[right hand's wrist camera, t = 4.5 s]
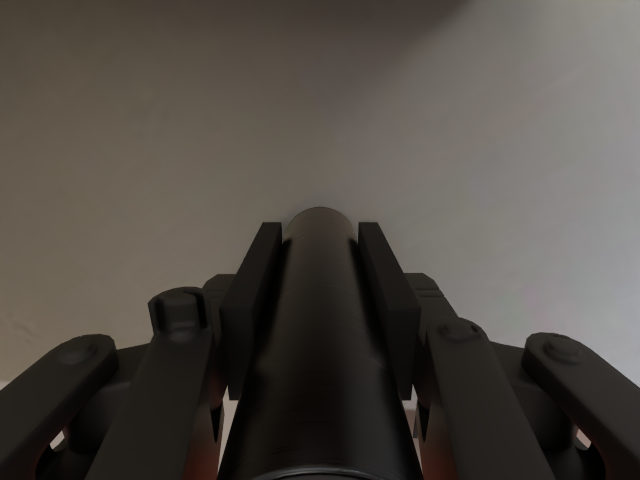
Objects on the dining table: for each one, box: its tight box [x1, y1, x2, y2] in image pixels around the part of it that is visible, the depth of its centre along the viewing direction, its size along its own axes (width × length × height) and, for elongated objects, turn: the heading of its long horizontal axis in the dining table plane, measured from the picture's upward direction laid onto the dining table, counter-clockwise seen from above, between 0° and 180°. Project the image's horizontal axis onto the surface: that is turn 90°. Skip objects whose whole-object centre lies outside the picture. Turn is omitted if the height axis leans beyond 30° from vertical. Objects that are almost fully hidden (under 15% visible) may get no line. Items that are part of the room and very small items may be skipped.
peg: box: [216, 207, 424, 480], centre depth 10 cm, size 3×3×12 cm
